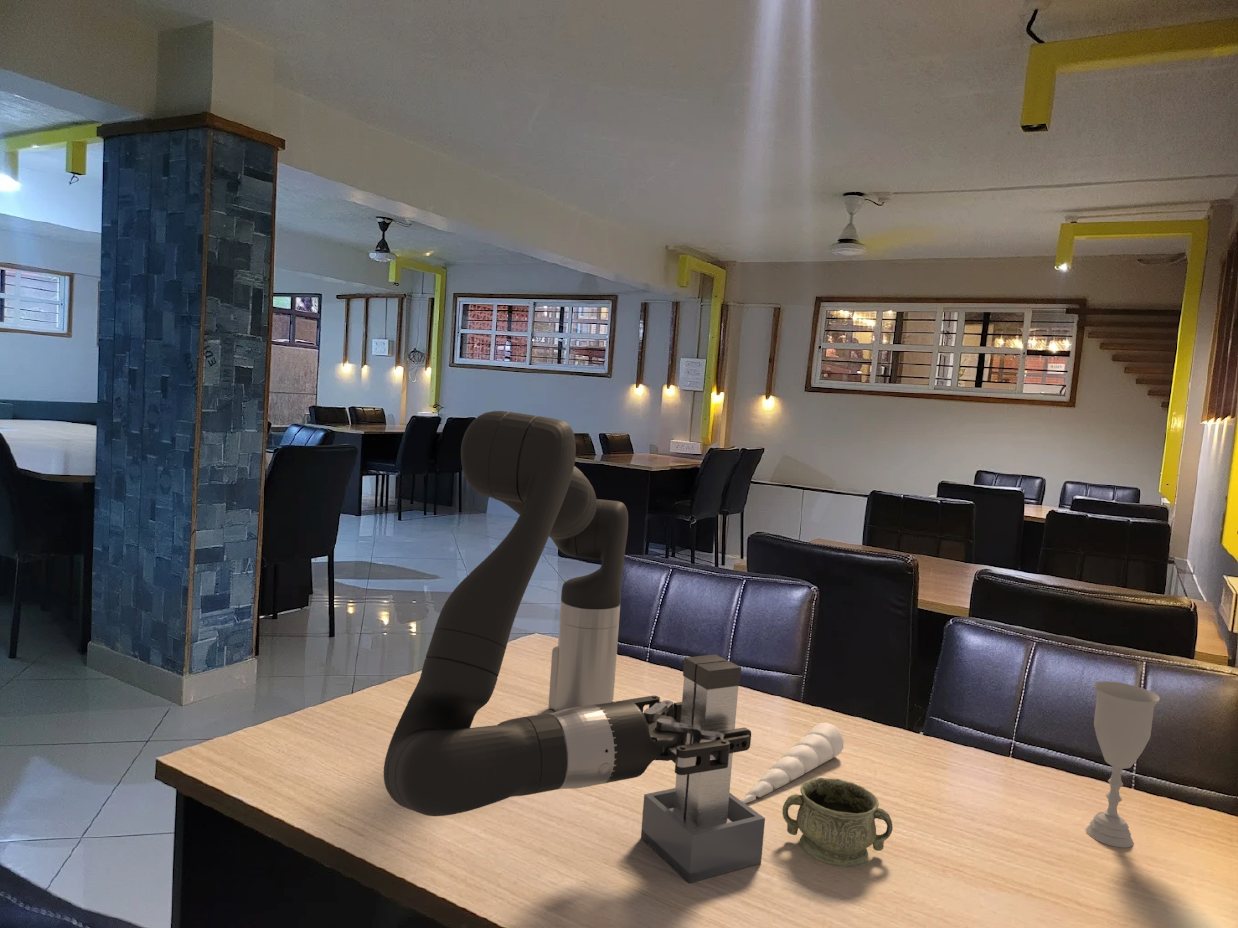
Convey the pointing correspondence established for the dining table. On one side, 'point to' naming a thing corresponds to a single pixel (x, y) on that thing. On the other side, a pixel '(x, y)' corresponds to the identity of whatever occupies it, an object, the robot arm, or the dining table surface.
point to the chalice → (1120, 749)
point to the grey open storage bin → (702, 838)
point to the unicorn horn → (800, 759)
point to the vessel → (836, 821)
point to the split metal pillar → (713, 710)
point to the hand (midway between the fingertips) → (724, 723)
